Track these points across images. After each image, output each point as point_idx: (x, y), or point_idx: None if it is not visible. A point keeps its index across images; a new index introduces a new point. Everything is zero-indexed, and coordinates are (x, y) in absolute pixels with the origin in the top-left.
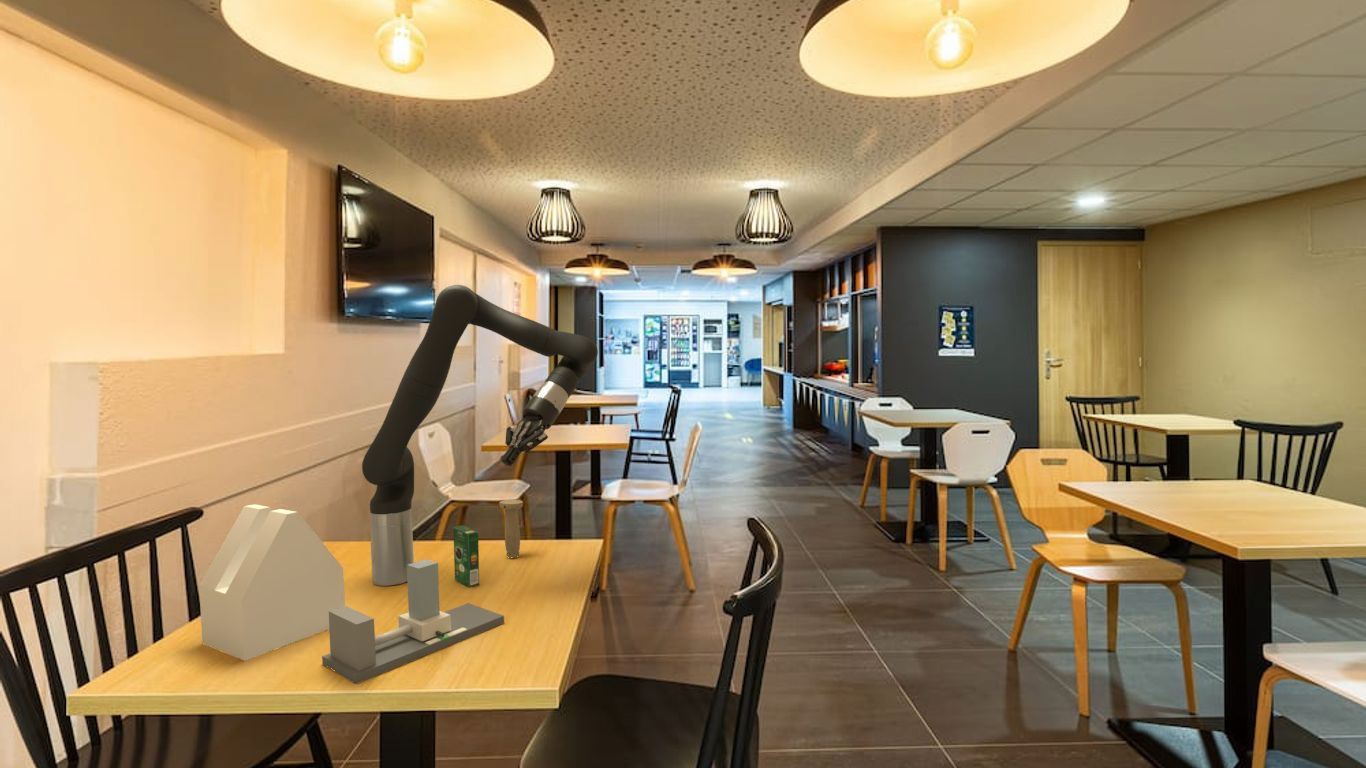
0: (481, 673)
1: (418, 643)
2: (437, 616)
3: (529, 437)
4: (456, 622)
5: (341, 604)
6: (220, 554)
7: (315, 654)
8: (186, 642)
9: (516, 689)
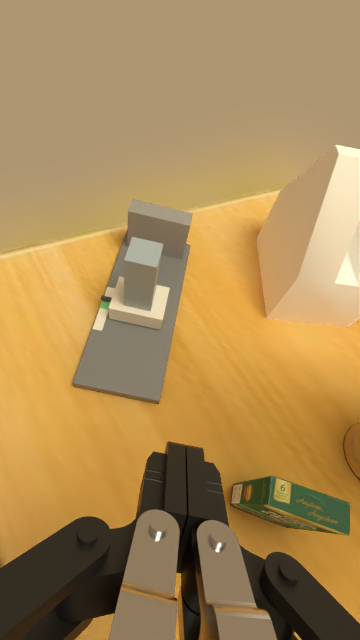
0: (19, 277)
1: None
2: (121, 299)
3: (8, 613)
4: (123, 342)
5: (275, 302)
6: None
7: (215, 261)
8: None
9: None
